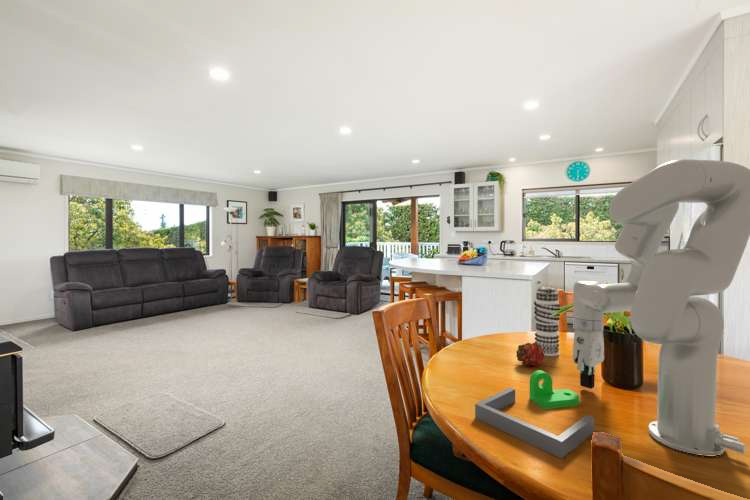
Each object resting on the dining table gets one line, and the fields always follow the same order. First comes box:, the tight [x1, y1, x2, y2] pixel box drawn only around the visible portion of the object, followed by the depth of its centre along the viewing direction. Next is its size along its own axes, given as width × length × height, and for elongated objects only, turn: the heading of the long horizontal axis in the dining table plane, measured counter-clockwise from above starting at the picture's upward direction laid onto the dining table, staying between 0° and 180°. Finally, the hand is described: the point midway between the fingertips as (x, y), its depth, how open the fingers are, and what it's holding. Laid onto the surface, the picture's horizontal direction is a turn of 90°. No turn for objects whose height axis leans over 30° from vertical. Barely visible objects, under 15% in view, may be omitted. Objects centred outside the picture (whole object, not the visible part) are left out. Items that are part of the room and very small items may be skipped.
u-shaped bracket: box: [474, 387, 595, 459], centre depth 85 cm, size 21×16×4 cm
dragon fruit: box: [516, 342, 546, 367], centre depth 124 cm, size 8×8×12 cm
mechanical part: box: [529, 369, 580, 410], centre depth 97 cm, size 12×6×8 cm, turn 100°
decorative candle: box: [533, 286, 561, 357], centre depth 137 cm, size 9×9×25 cm
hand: (587, 386), depth 104 cm, fingers closed
